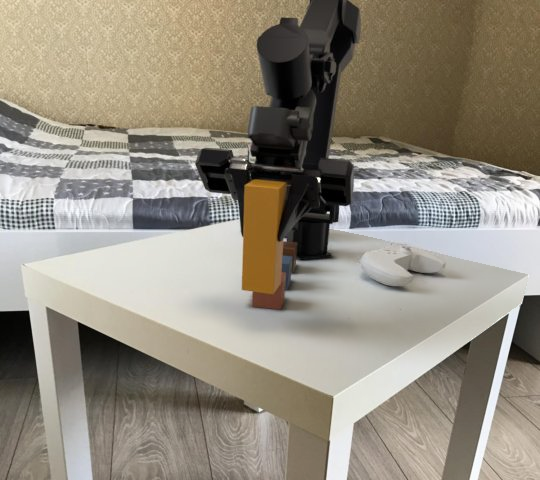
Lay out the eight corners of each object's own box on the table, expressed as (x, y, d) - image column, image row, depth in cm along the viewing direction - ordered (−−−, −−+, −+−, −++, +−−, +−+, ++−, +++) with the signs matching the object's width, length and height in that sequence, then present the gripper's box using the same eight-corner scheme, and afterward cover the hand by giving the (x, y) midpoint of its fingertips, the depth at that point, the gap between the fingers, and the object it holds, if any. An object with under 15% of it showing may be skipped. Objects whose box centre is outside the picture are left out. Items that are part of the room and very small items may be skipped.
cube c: (256, 296, 83) (257, 269, 81) (284, 299, 82) (286, 272, 80) (252, 306, 79) (253, 278, 77) (280, 309, 79) (282, 281, 77)
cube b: (265, 278, 89) (266, 253, 88) (290, 281, 89) (292, 256, 87) (261, 287, 86) (262, 261, 84) (287, 290, 85) (289, 264, 84)
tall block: (250, 279, 74) (254, 179, 68) (280, 283, 73) (287, 182, 67) (241, 290, 70) (244, 185, 64) (273, 294, 69) (279, 188, 63)
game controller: (406, 275, 84) (354, 245, 89) (396, 300, 87) (346, 270, 92) (454, 257, 94) (404, 231, 99) (444, 280, 96) (396, 254, 101)
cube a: (272, 263, 96) (273, 240, 94) (296, 265, 96) (297, 242, 94) (268, 271, 93) (270, 246, 91) (293, 273, 92) (295, 249, 90)
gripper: (200, 73, 66) (164, 189, 61) (363, 83, 62) (338, 207, 58) (221, 138, 76) (192, 242, 72) (361, 150, 73) (340, 260, 68)
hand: (260, 237), depth 67 cm, fingers closed on tall block, 4 cm apart
